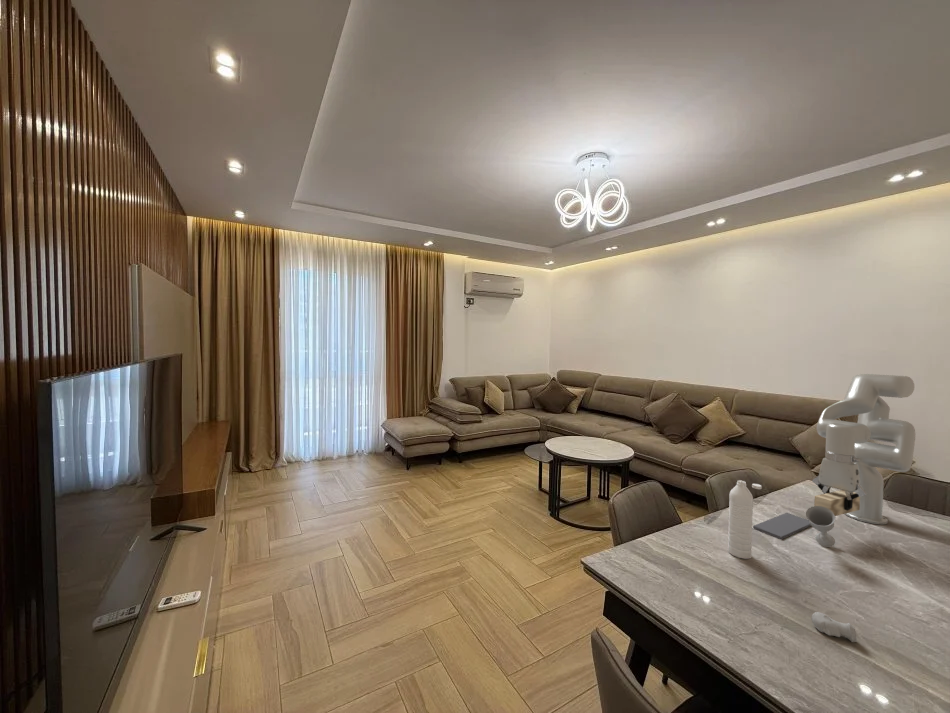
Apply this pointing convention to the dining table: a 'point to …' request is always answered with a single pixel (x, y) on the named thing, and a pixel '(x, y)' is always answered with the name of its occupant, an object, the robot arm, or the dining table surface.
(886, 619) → the dining table surface
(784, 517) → the tool pad
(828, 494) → the grooved wooden block
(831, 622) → the smooth white sculpture
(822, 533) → the chalice
